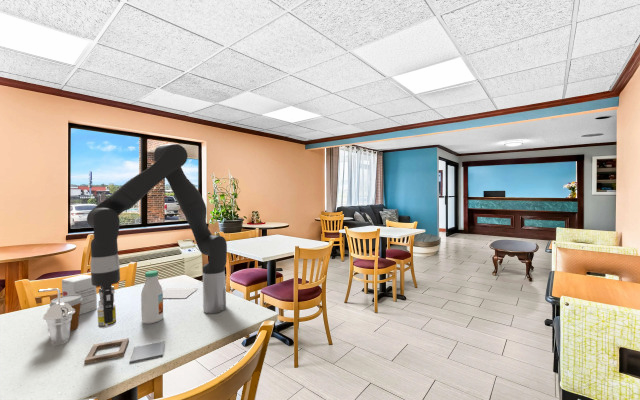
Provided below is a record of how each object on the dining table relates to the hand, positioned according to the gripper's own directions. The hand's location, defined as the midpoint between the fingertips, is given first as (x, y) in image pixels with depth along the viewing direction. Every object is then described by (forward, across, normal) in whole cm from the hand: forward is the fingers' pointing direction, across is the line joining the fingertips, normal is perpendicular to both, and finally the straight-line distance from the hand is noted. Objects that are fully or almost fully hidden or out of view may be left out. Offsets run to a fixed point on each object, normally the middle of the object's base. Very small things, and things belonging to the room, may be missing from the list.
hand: (108, 319), depth 95 cm
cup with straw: (+11, +19, +13) cm, 25 cm away
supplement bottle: (+2, 0, 0) cm, 2 cm away
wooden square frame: (+11, 0, 0) cm, 11 cm away
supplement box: (+11, +48, +7) cm, 50 cm away
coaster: (+11, -9, -10) cm, 17 cm away
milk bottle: (+11, +17, -16) cm, 26 cm away
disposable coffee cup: (+11, +30, +11) cm, 33 cm away
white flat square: (+12, +43, -24) cm, 51 cm away
